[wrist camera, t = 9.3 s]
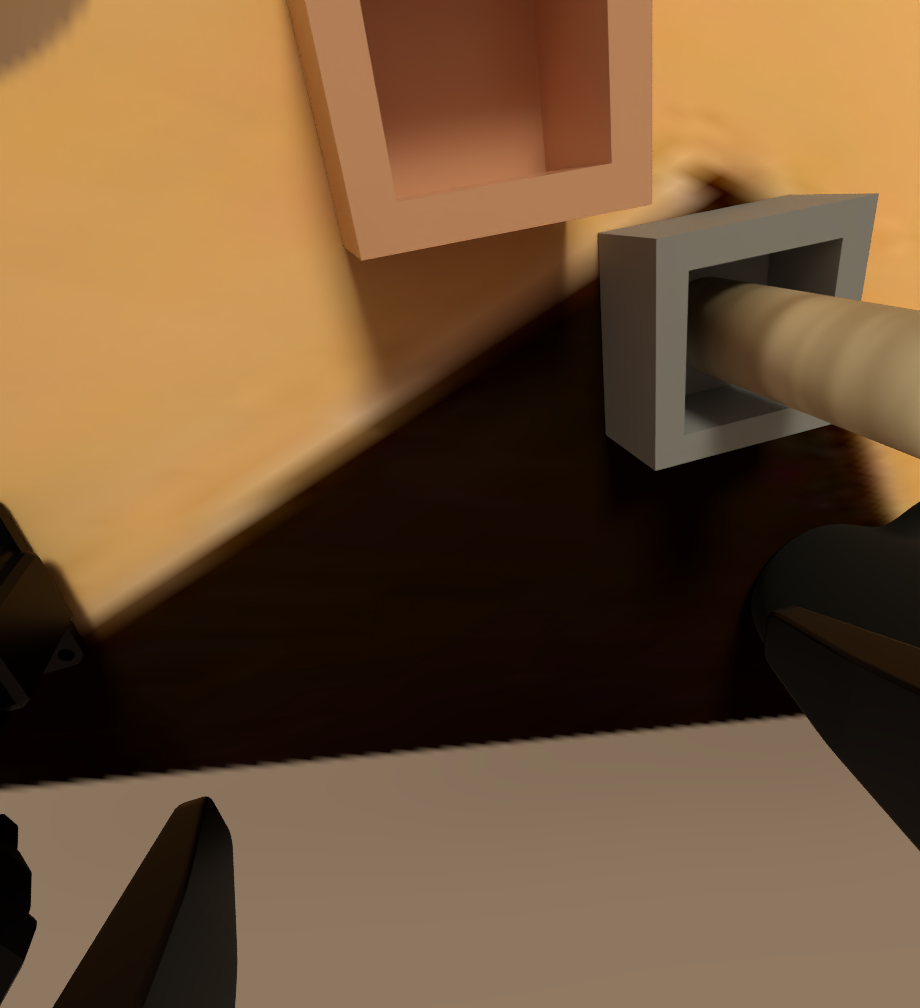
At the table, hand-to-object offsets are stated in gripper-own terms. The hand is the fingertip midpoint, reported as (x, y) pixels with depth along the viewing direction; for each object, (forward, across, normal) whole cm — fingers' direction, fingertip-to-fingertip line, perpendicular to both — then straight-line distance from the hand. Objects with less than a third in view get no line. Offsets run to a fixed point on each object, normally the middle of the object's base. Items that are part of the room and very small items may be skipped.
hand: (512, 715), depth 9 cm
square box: (+13, -4, -10) cm, 16 cm away
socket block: (+13, -12, -2) cm, 17 cm away
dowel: (+12, -12, -2) cm, 17 cm away
